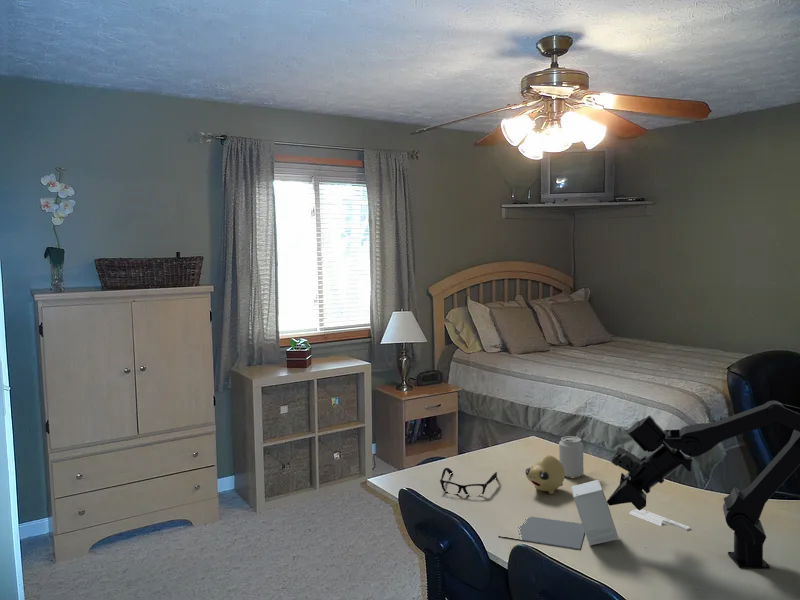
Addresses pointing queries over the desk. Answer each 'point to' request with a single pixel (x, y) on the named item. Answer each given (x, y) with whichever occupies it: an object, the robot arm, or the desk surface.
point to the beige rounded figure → (546, 474)
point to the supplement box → (594, 512)
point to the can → (571, 456)
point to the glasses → (465, 485)
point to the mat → (552, 532)
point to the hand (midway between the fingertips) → (608, 503)
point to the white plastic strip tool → (656, 518)
